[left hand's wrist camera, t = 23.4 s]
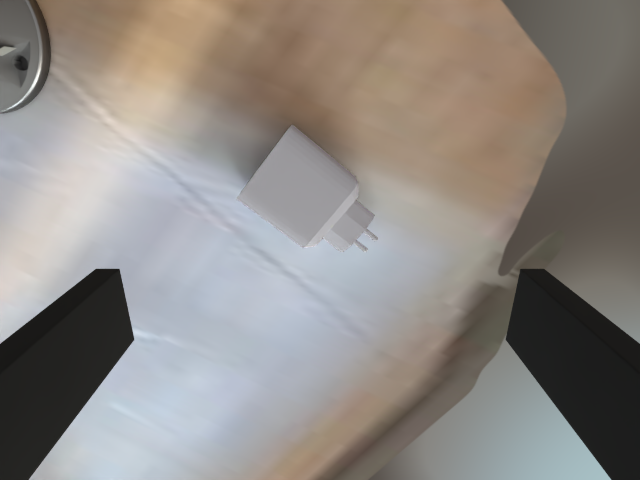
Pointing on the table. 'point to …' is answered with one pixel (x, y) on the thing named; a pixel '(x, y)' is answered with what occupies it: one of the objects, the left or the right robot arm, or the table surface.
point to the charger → (307, 195)
